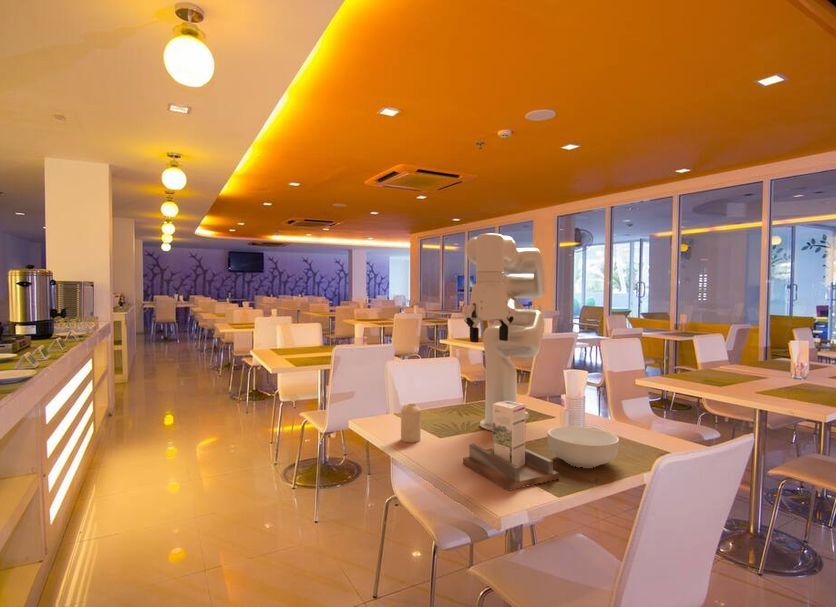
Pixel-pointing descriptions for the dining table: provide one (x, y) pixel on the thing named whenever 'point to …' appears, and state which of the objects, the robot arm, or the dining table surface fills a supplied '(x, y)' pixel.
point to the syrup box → (509, 432)
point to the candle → (410, 423)
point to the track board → (510, 468)
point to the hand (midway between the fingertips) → (489, 341)
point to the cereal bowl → (583, 445)
